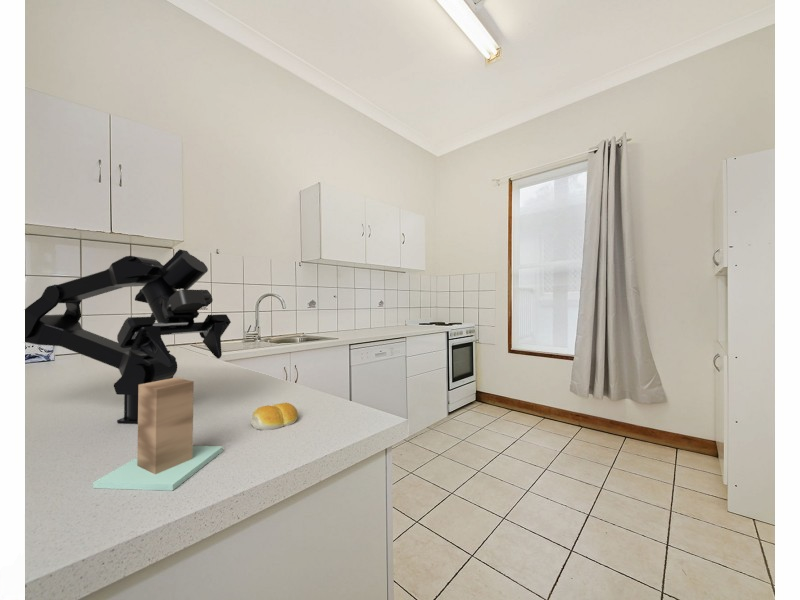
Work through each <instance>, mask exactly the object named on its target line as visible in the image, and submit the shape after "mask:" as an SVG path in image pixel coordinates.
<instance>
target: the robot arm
mask: <svg viewBox="0 0 800 600" xmlns="http://www.w3.org/2000/svg"><path fill="white" fill-rule="evenodd" d="M207 272H209V269H208V267H207V265H206V264H205V263H204V261H201V260H200V259H198V258H197V257H196V256H194V255H193V254H190V252H189V251H188V250H184V249H178V250H177V251H176V252H175V253H174V255H173V256H172V257H171V258H170V259H169V260H168V261H167V262H166V263H164V264H162V263H161V262H160V261H159V260H157V259H152V258H148V257H147V258H146V257H141V256H135V255H126V256H123V257H121V258H119V259H118V260H116V261H114V262H112V263H111V264H110V265H109V267H108V268H107V269H105V270H103V271H102V270H101V271H98V272H95V273H92V274H89V275H86V276H82V277H79V278H76V279H72V280H68V281H65V282H63V283H59V284H52V285H48V286H47V287H45V289H44V290H43V293H42V294H41V296H40V297H39V298H38V299H36V300H35V301H33V302H32V303H31V304H29V305H28V306H27V307H25V309H24V310H25V342H24V343H27V344H32V345H37V346H52V347H62V348H64V349H67V350H70V351H72V352H75V353H77V354H79V355H81V356H85V357H88V358H90V359H93V360H95V361H98V362H100V363H103V364H105V365H107V366H110V367H113V368H115V369H118V371H119V373H120V375H121V377H120V378H119V379H118V380H116V382H114V384H113V388H114V391H115V394H116V395H121V396H122V395H124V396H123V398H124V402H123V404H124V406H123V409H124V410H123V413H124V414H123V417H122V418H119V419H117V420H116V423H117V424H138V386H139V384H145V383H150V382H155V381H160V380H165V379H171V378H174V377H175V374H176V373H177V370H178V362H177V358H176V357H175V356H174V355H173V354H171V351H170V350H168V348H167V346H166V344H165V342H164V340H163V339H162V336H167V335H168V336H169V335H185V334H186V335H187V334H198V333H199V335H200V337H201V339H203V340H202V343H203V344H204V346H206V347H207V349H208V350H209V351H210V353H211V354H212V355H213V356H214V357H215V358H216V359H219V360H220V358H221V357H222V353H223V351H222V343H221V342H222V340H221V337H222V336H223V334H225V331H226V330H227V329H228V327H229V326H230V324H231V323H232V322H231V319H230V318H229V316H228V315H227V314H223V313H222V314H208V315H206V318H205V319H204V320H203V321H202V322H199V321H198V322H197V321H196V322H195V320H194V319H196V318H198V316H199V315H200V313H199V310H200V309H202V308H204V307H208V306H209V305H211V304H212V303H213V300H214V299H213V296H212V294H211V293H210V292H209V290H208V289H191V287H192V286H193V285H194V284H196V283H197V282H198V281H199V280H200V279H201V278H202V277H203V276H204V275H205V274H207ZM129 287H130V288H131V287H133V288H134V287H142V288H141V289H139V292H138V293H137V294H136V295H135V297H134V300H135V301H136V302H140V303H145V304H147V305H148V306H149V308H150V310H151V312H152V313H151V314H150V316H133V317H132V316H131V317H127V318H126V319H125V320H124V322H123V323H122V326H121V328H120V330H119V331H118V333H117V336H116V337H117V338H116V340H117V341H115V340H112V339H109V338H107V337H104V336H101V335H99V334H96V333H94V332H91V331H90V330H89V331H88V330H85V329H84V328H82V324H81V323H80V319H81V318H82V312H81V306H80V305H81V303H82V301H83V300H86V299H89V298H92V297H96V296H100V295H102V294H106V293H110V292H113V291H117V290H120V289H123V288H129ZM59 304H65V311H64V313H62V314H48V313H50V312H51V311H52V310H53V309H54V308H56V307H57V306H58V305H59Z"/></svg>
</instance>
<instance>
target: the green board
mask: <svg viewBox="0 0 800 600" xmlns="http://www.w3.org/2000/svg"><path fill="white" fill-rule="evenodd" d="M223 449H224V446H220V445H219V446H218V445H217V446H216V445H215V446H214V445H213V446H212V445H193V457H192V459H191V460H189V461H186V462H184V463H181V464H179V465H177V466H174V467H172V468H170V469H167V470H165V471H163V472H160V473H158V474H153V473H151V472H149V471H147V470H145V469H143V468H141V467H139V466H137V457H134V458H133V459H132V460H130V461H128V462H126V463H125V464H123V465H121V466H119V467H118V468H115V469H114V470H112V471H110V472H109V473H107V474H105V475H103V476H101V477H100V478H99V479H97V480H95V481H93V483H92V485H93V486H92V488H93V489H104V490H105V489H108V490H111V489H112V490H115V489H116V490H135V491H137V490H139V491H142V490H144V491H166V492H167V491H169V492H170V491H171V492H172V491H174V490H175V489H177V488H178V487H179V486H180V485H182V484H184V482H185V481H187V480H189V479H190V478H191V477H192V476H193V475H195V474H196V473H197V472H198V471H200V470H201V469H203V467H205V466H206V465H207V464H209V463H210V462H211V461H212V460H214V459H215V458H216V457H218V456H219V455H221V453H222V452H223V451H224V450H223ZM218 454H219V455H218Z"/></svg>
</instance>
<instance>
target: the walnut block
mask: <svg viewBox="0 0 800 600" xmlns="http://www.w3.org/2000/svg"><path fill="white" fill-rule="evenodd" d="M194 382H195V381H193V380H189V379H184V378H179V377H173V378H171V379H165V380H160V381H155V382H150V383H145V384H139V386H138V423H137V451H136V453H137V456H136V458H137V466H139V467H141V468H143V469H145V470H147V471H149V472H151V473H153V474H158V473H160V472H163V471H165V470H167V469H170V468H172V467H174V466H177V465H179V464H181V463H184V462H186V461H189V460H191V459H192V457H193V446H194V444H193V443H194V440H193V439H194V436H193V435H194Z"/></svg>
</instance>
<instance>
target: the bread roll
mask: <svg viewBox="0 0 800 600" xmlns="http://www.w3.org/2000/svg"><path fill="white" fill-rule="evenodd" d="M298 415H299V413H298V410H297V408H296V407H295V405H293V404H292V403H289V402H282V403H277V404H272V405H270V404H269V405H263V406H260V407H258V408H257V409H255V411H253V412H252V416H251V420H250V425H251V426H253V428H254V429H256V430H259V431H271V430H277V429H279V428H282V427H284V426H285V427H286V426H287V425H288V426H291V425H293V424H294V423H295V422H296V421H297V419H298ZM290 424H291V425H290Z"/></svg>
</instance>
